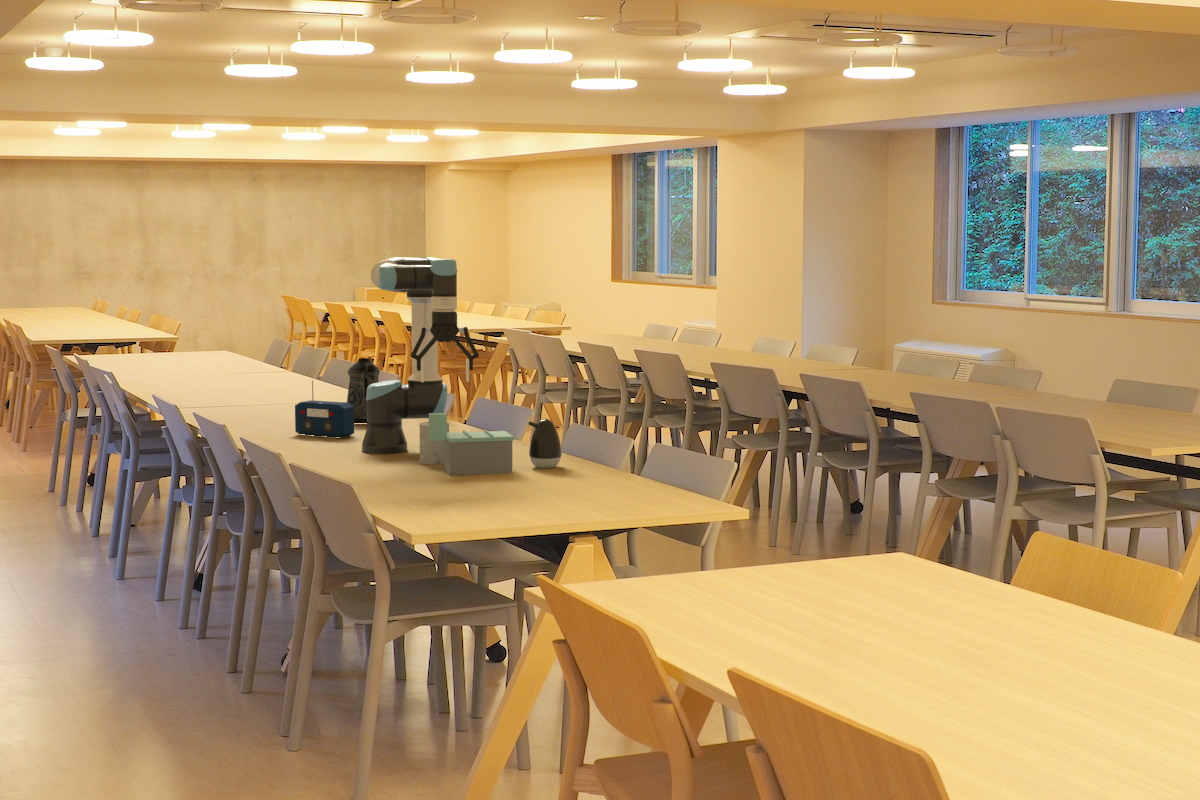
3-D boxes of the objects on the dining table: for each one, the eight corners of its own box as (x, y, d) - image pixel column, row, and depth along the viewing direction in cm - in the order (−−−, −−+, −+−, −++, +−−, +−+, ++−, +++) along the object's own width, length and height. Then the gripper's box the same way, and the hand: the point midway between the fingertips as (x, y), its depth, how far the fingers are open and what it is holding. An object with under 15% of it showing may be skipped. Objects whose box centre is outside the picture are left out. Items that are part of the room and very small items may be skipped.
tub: (444, 468, 397) (444, 436, 396) (504, 466, 402) (504, 434, 401) (450, 475, 385) (450, 442, 384) (512, 472, 390) (512, 440, 389)
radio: (293, 435, 466) (292, 381, 463) (307, 432, 474) (306, 378, 471) (342, 439, 458) (341, 383, 455) (355, 436, 466) (354, 381, 463)
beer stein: (365, 418, 515) (364, 356, 512) (400, 422, 504) (399, 358, 501) (334, 422, 502) (333, 358, 499) (369, 426, 490) (368, 361, 488)
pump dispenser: (529, 464, 406) (529, 416, 404) (562, 464, 406) (562, 416, 405) (527, 469, 396) (527, 421, 394) (561, 470, 396) (561, 421, 394)
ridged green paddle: (426, 437, 395) (426, 411, 394) (505, 434, 401) (505, 409, 400) (432, 443, 382) (432, 416, 382) (513, 440, 389) (513, 414, 388)
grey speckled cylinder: (444, 464, 404) (443, 426, 403) (415, 463, 406) (414, 425, 405) (453, 460, 414) (453, 422, 412) (425, 459, 416) (425, 421, 414)
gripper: (402, 311, 377) (403, 383, 380) (487, 311, 382) (487, 382, 384) (401, 310, 385) (402, 380, 387) (485, 310, 389) (485, 379, 391)
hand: (445, 381), depth 386 cm, fingers open, 13 cm apart
